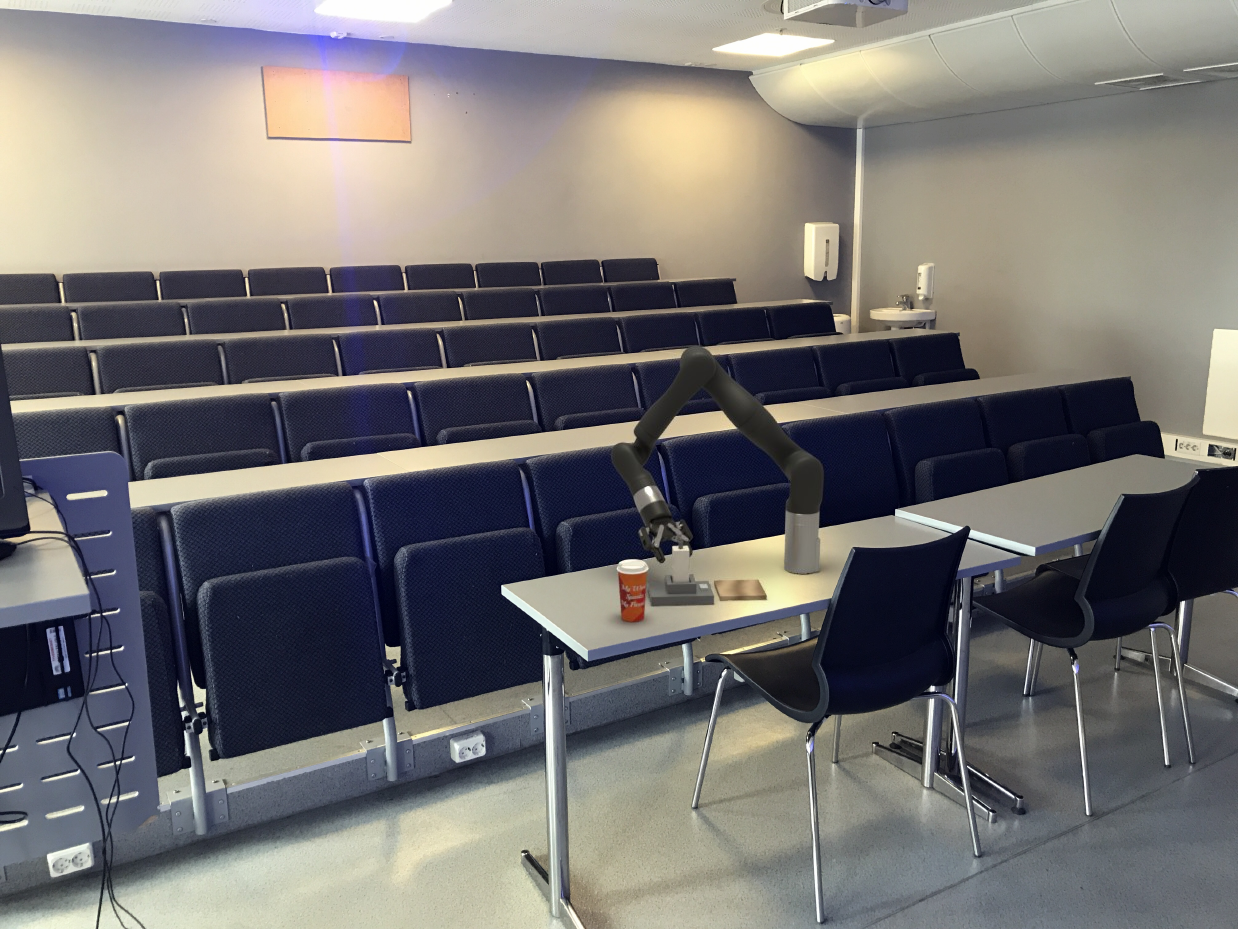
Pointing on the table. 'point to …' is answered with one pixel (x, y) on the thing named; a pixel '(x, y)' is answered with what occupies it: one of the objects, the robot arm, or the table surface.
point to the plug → (680, 563)
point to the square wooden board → (739, 590)
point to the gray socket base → (680, 592)
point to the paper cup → (632, 589)
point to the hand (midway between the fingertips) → (676, 559)
